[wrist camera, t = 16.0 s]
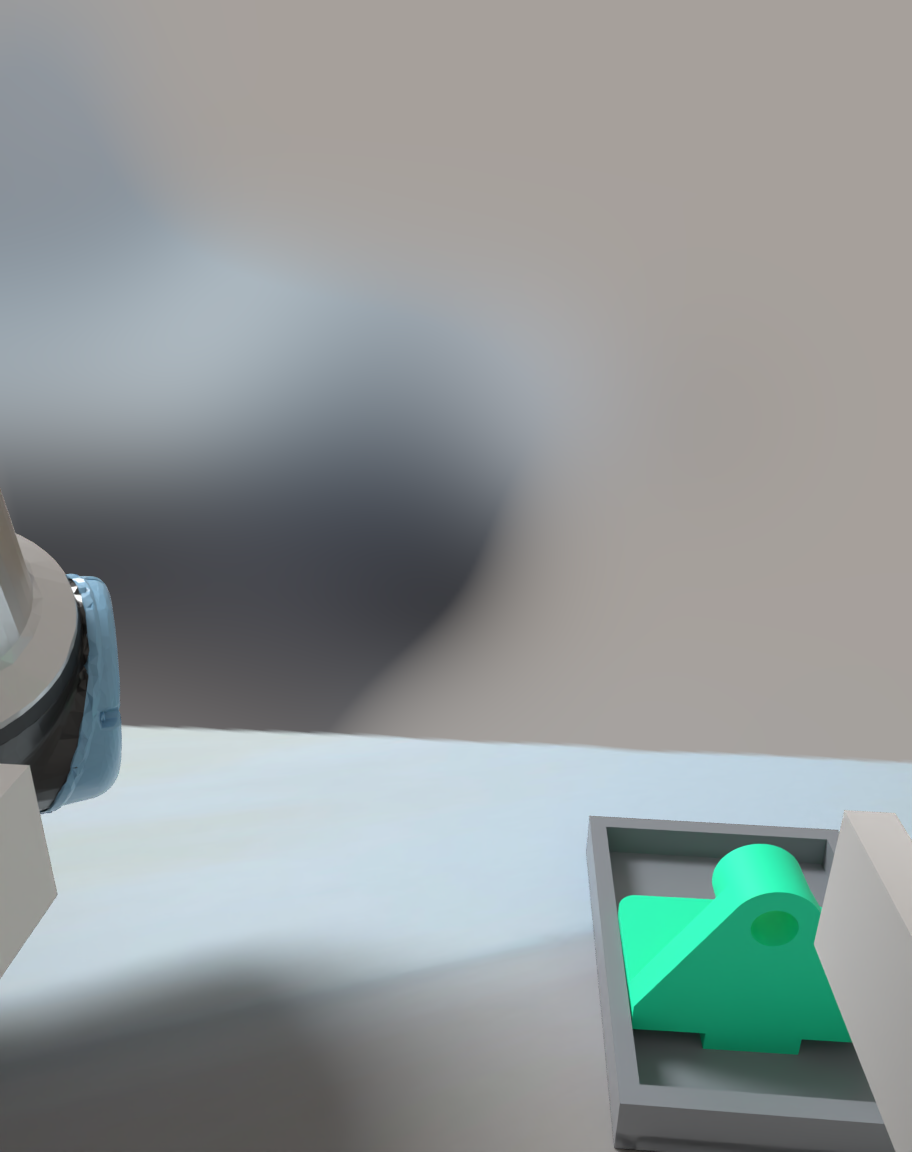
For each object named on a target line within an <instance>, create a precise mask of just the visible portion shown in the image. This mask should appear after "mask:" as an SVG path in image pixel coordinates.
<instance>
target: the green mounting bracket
mask: <svg viewBox="0 0 912 1152" xmlns="http://www.w3.org/2000/svg"><path fill="white" fill-rule="evenodd" d="M712 886H713V890H714V893H715V896H716V898H715V899H697V898H678V897H660V896H641V895H631V896H627V897H625V898H623V899H622V900H621V901H620V903H619V910H618V922H619V930H620V938H621V945H622V953H623V961H624V968H625V976H626V984H627V991H628V999H629V1007H630V1014H631V1022H632V1029H642V1030H658V1031H674V1032H690V1033H699V1034H700V1038H701V1043H702V1047H703V1049H714V1050H730V1051H746V1052H761V1053H777V1054H793V1055H798V1053H799V1049H800V1045H801V1040H802V1039H803V1040H819V1041H835V1042H851V1043H852V1040H851V1038H850V1035H849V1032H848V1030H847V1027H846V1025H845V1022H844V1020H843V1017H842V1015H841V1012H840V1010H839V1007H838V1004H837V1002H836V999H835V997H834V994H833V992H832V989H831V987H830V984H829V982H828V979H827V976H826V974H825V971H824V969H823V966H822V964H821V961H820V959H819V956H818V954H817V951H816V949H815V946H814V941H815V937H816V932H817V928H818V924H819V919H820V915H821V910H822V907H820V906H819V904H818V902H817V901H816V899H815V897H814V895H813V894H812V892H811V890H810V888H809V886H808V884H807V881H806V879H805V877H804V874H803V872H802V870H801V868H800V865H799V863H798V861H797V860H796V859H795V857H794V856H793V855H791V854H790V853H789V852H788V851H786V850H784V849H782V848H780V847H777V846H774V845H769V844H751V845H746V846H743V847H740V848H737V849H735V850H733V851H731V852H730V853H728V854H727V855H725V856H724V857H723V858H722V859H721V860H720V861H719V863H718V864H717V866H716V867H715V869H714V872H713V876H712Z"/></svg>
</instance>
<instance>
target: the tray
mask: <svg viewBox="0 0 912 1152" xmlns="http://www.w3.org/2000/svg"><path fill="white" fill-rule="evenodd" d="M838 836H839V831H838V830H829V829H812V828H794V827H777V826H759V825H741V824H724V823H706V822H689V821H671V820H653V819H636V818H618V817H601V816H589V826H588V837H587V849H586V855H587V866H588V876H589V887H590V897H591V908H592V919H593V929H594V940H595V950H596V961H597V971H598V982H599V992H600V1003H601V1014H602V1024H603V1035H604V1045H605V1056H606V1066H607V1077H608V1088H609V1098H610V1109H611V1119H612V1130H613V1140H614V1148H622V1149H634V1150H646V1151H659V1152H895V1149H894V1147H893V1144H892V1142H891V1139H890V1137H889V1134H888V1132H887V1129H886V1127H885V1124H884V1121H883V1119H882V1116H881V1114H880V1111H879V1109H878V1106H877V1104H876V1101H875V1099H874V1096H873V1093H872V1091H871V1088H870V1086H869V1083H868V1081H867V1078H866V1076H865V1073H864V1071H863V1068H862V1065H861V1063H860V1060H859V1058H858V1055H857V1053H856V1050H855V1048H854V1045H853V1043H851V1042H835V1041H819V1040H803V1039H802V1040H801V1045H800V1049H799V1053H798V1055H793V1054H777V1053H761V1052H746V1051H730V1050H714V1049H703V1047H702V1043H701V1038H700V1034H699V1033H690V1032H674V1031H658V1030H642V1029H632V1022H631V1014H630V1007H629V999H628V991H627V984H626V976H625V968H624V961H623V953H622V945H621V938H620V930H619V922H618V910H619V903H620V901H621V900H622V899H623V898H625V897H627V896H631V895H641V896H660V897H678V898H697V899H715V898H716V896H715V893H714V890H713V886H712V876H713V872H714V869H715V867H716V866H717V864H718V863H719V861H720V860H721V859H722V858H723V857H724V856H725V855H727V854H728V853H730V852H731V851H733V850H735V849H737V848H740V847H743V846H746V845H751V844H769V845H774V846H777V847H780V848H782V849H784V850H786V851H788V852H789V853H790V854H791V855H793V856H794V857H795V859H796V860H797V861H798V863H799V865H800V868H801V870H802V872H803V874H804V877H805V879H806V881H807V884H808V886H809V888H810V890H811V892H812V894H813V895H814V897H815V899H816V901H817V902H818V904H819V906H820V907H822V906H823V902H824V897H825V893H826V889H827V884H828V880H829V876H830V871H831V867H832V863H833V858H834V854H835V849H836V845H837V841H838Z"/></svg>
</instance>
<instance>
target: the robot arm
mask: <svg viewBox="0 0 912 1152" xmlns="http://www.w3.org/2000/svg"><path fill="white" fill-rule="evenodd" d="M118 666H119V665H118V652H117V642H116V632H115V624H114V616H113V608H112V603H111V597H110V593H109V592H108V589H107V586H106V585H105V584H104V582H103V581H101V580H100V579H99V578H96V577H92V576H79V575H77V574H67V575H65V573H64V572H63V570H62V569H61V568H60V566H59V565H58V564H57V562H56V561H55V560H54V559H53V558H52V557H51V556H50V555H49V554H48V553H46V552H45V551H44V550H43V549H41V548H40V547H38V546H37V545H36V544H34V543H33V542H31V541H29V540H27V539H26V538H24V537H22V536H20V535H18V534H15V531H14V528H13V525H12V522H11V519H10V516H9V513H8V510H7V507H6V504H5V501H4V498H3V495H2V492H1V489H0V978H1V977H2V975H3V974H4V972H5V971H6V970H7V968H8V967H9V965H10V964H11V962H12V961H13V959H14V958H15V956H16V955H17V953H18V952H19V951H20V949H21V948H22V946H23V945H24V943H25V942H26V940H27V939H28V937H29V936H30V934H31V933H32V932H33V930H34V929H35V927H36V926H37V924H38V923H39V921H40V920H41V918H42V917H43V915H44V914H45V913H46V911H47V910H48V908H49V907H50V905H51V904H52V902H53V901H54V899H55V898H56V896H57V890H56V885H55V881H54V876H53V871H52V867H51V862H50V858H49V853H48V848H47V844H46V839H45V834H44V830H43V825H42V821H41V816H40V814H44V813H52V811H56V810H57V809H59V808H61V806H63V805H67V804H71V803H75V802H79V801H83V800H87V799H91V798H95V797H97V796H99V795H101V794H103V793H105V792H106V791H107V790H108V789H109V788H110V787H111V786H112V785H113V784H114V782H115V780H116V779H117V776H118V774H119V770H120V764H121V749H122V733H121V717H120V712H119V707H120V679H119V667H118ZM814 946H815V949H816V951H817V954H818V956H819V959H820V961H821V964H822V966H823V969H824V971H825V974H826V976H827V979H828V982H829V984H830V987H831V989H832V992H833V994H834V997H835V999H836V1002H837V1004H838V1007H839V1010H840V1012H841V1015H842V1017H843V1020H844V1022H845V1025H846V1027H847V1030H848V1032H849V1035H850V1038H851V1040H852V1043H853V1045H854V1048H855V1050H856V1053H857V1055H858V1058H859V1060H860V1063H861V1065H862V1068H863V1071H864V1073H865V1076H866V1078H867V1081H868V1083H869V1086H870V1088H871V1091H872V1093H873V1096H874V1099H875V1101H876V1104H877V1106H878V1109H879V1111H880V1114H881V1116H882V1119H883V1121H884V1124H885V1127H886V1129H887V1132H888V1134H889V1137H890V1139H891V1142H892V1144H893V1147H894V1149H895V1152H912V840H911V838H910V837H909V835H908V833H907V832H906V830H905V828H904V827H903V825H902V824H901V822H900V820H899V819H898V817H897V815H896V814H895V813H883V812H865V811H847V810H844V815H843V819H842V823H841V828H840V832H839V836H838V841H837V845H836V849H835V854H834V858H833V863H832V867H831V871H830V876H829V880H828V884H827V889H826V893H825V897H824V902H823V906H822V910H821V915H820V919H819V924H818V928H817V932H816V937H815V941H814Z"/></svg>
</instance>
